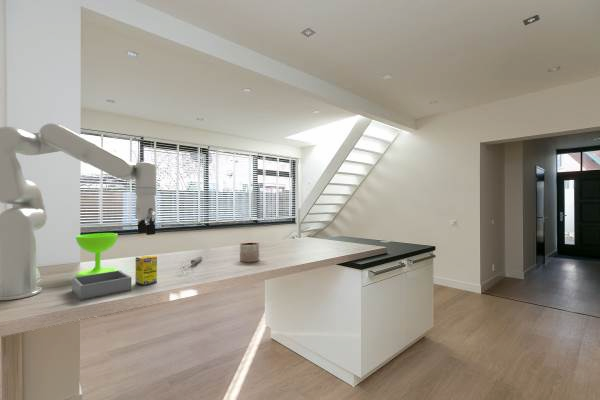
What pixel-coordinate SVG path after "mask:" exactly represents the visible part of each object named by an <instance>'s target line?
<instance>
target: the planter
mask: <svg viewBox="0 0 600 400" xmlns="http://www.w3.org/2000/svg"><path fill="white" fill-rule="evenodd" d="M239 260H240V262H242V263H256V262H258V261H260V243H259V242H254V241H253V242H249V241H248V242H241V243H239Z"/></svg>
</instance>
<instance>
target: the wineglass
mask: <svg viewBox="0 0 600 400" xmlns="http://www.w3.org/2000/svg"><path fill="white" fill-rule="evenodd" d="M118 235H119V234H118V233H114V232H103V233H87V234H80V235H76V236H75V239H76V242H77V244H78V246H79V247H80V248H81V249H82V250H84V251H86V252H89V253H94V255H95V256H94V258H95V259H94V263H95V265H94V268H91V269H86V270H82V271H80V272H78V273H76V276H75V277H79V276H86V275H92V274H99V273H105V272H111V271H118V270H119V269H117V268H114V267H102V266H101V253H103V252H105V251H107V250H109V249H110V248H112V247H113V246H114V245H115V244H116V242H117V240H118Z"/></svg>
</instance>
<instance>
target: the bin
mask: <svg viewBox="0 0 600 400" xmlns="http://www.w3.org/2000/svg"><path fill="white" fill-rule="evenodd" d="M117 270H118V271H111V272H105V273H99V274H92V275H86V276H79V277H76V276H75V277H72V278H71V289H72V292H73V294H74V295H75V296H76V297H77V298H78V300H79V301H87V300H92V299H95V298H101V297H105V296H106V297H107V296H110V295H115V294H121V293H124V292H125V291H126V292H129V291H132V276H130V275H128V274H127V273H126V272H123V271H122V270H119V269H117Z"/></svg>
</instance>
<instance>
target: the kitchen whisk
mask: <svg viewBox="0 0 600 400" xmlns="http://www.w3.org/2000/svg"><path fill="white" fill-rule="evenodd" d="M184 260H187V261H185V262H184ZM201 261H203V257H202V256H201V255H199V256H197V257H195V258H192V259H187V258H186V259H183V261H182V262H180V263H179V264H178V266H179V267H180V268H179V269H178V270H182V273H184V272H185V271H186V270H187V267H190V266H191V267H192V268H190V270H193V269H194V268H195V266H196V264H198V263H199V262H201ZM187 263H189V264H187ZM180 264H182V265H183V264H185V265H183V266H181V265H180ZM186 273H189V272H187V271H186Z"/></svg>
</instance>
